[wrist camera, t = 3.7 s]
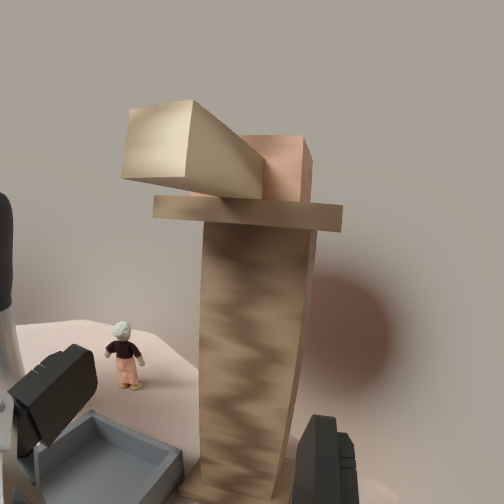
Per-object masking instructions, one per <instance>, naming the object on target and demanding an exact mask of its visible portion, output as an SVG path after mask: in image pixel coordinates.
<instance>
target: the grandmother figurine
mask: <svg viewBox="0 0 504 504" xmlns="http://www.w3.org/2000/svg"><path fill="white" fill-rule="evenodd" d="M130 327H131V326H130V324H129V323H128V322H125V321H121V322H119V323H117V324H116V325H115V327H114V329H113V332H112V334H113V336H115V337H117V339H118V340H120V341H113V342H111V343H110V344H109V345H108V346H107V347H106V353H105V357H106V358H109V357H110V354H111V353H116V352H117V355H116V364H117V372H118V377H119V381H120V383H119V387H120V388H127V387H128V385H129V384H131V386H130V389H131V390H138V389H139V388H141V387H142V386H143V385H142V383H141V382H140V381H138V377H137V371H136V365H135V360H134V357H133V354H134V356H135V357H136V358H137V360H138V362H139V365H140V366H144V364H145V362H144V361H143V358H142V356H141V353H140V351H139V350H138V349H137V347H136V346H135V345H134V344H133V343H131V342H129V341H127V340H129V338H130V333H131V328H130Z"/></svg>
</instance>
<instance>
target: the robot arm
mask: <svg viewBox="0 0 504 504" xmlns="http://www.w3.org/2000/svg"><path fill="white" fill-rule="evenodd" d="M12 248H13V215H12V208H11V204H10V202H9V200H8V198H7V197H6V196H5V195H4V194H2V193H0V504H46V502H45V499H44V497H43V495H42V492H41V487H40V477H39V464H38V449H37V446H36V444H37V443H38V442H40V443H41V444H43V445H44V446H46V447H47V448H49V447H50V446H51V444H52V443H53V442H54V441H55V440H56V438H57V437H58V436H59V435H60V434H61V432H62V431H63V430H64V429H65V428H66V427H67V425H68V424H69V423H70V422H71V421H72V419H73V418H74V417H75V416H76V415H77V414H78V412H79V411H80V410H81V409H82V408H83V407H84V405H85V404H86V403H87V402H88V401H89V400H90V398H91V397H92V396H93V395H94V393H95V391H96V389H97V384H98V381H97V375H96V369H95V362H94V356H93V353H92V352H91V351H90V350H87V349H85V348H83V347H81V346H79V345H77V344H72V345H71V346H69V347H68V348H67V349H66V350H65V351H64V352H62V351H59V352H57V353H54V354H52V355H49V356H48V357H47V358H45V359H44V360H43V361H42V362H41V363H40V365H39V364H38V365H37V366H36V367H35V368H34V369H33V371H32V370H31V371H30V372H29V373H28V374H27V375H26V374H25V370H24V366H23V362H22V358H21V353H20V349H19V344H18V338H17V333H16V327H15V322H14V315H13V308H12V299H11V289H12V280H13V268H12ZM292 504H359V494H358V482H357V471H356V461H355V452H354V444H353V443H352V441H351V439H350V438H349V436H348V434H347V433H340V432H337V427H336V418H335V417H330V416H322V415H315V414H314V415H312V417H311V419H310V421H309V423H308V425H307V427H306V429H305V431H304V433H303V435H302V437H301V439H300V442H299V445H298V449H297V454H296V466H295V478H294V490H293V500H292Z"/></svg>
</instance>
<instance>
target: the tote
mask: <svg viewBox="0 0 504 504" xmlns="http://www.w3.org/2000/svg"><path fill="white" fill-rule="evenodd" d="M37 449H38V464H39V477H40V487H41V492H42V495H43V497H44V499H45V502H46V504H163V503H164V502H165V501H166V499H167V498H168V497H169V495H170V494H171V493H172V491H173V490H174V489H175V487H176V486H177V485H178V483H179V482H180V480H181V479H182V478H183V476H184V466H183V456H182V450H181V449H178V448H175V447H172V446H170V445H167V444H165V443H162V442H159V441H157V440H154V439H152V438H150V437H147V436H145V435H142V434H140V433H138V432H136V431H133V430H131V429H129V428H127V427H125V426H123V425H120V424H118V423H116V422H114V421H112V420H110V419H108V418H106V417H104V416H102V415H100V414H98V413H97V412H95V411H93V410H90V411H89V412H87V413H86V414H85V415H83V416H82V417H80V418H79V419H77V420H76V421H74V422H73V423H71V424H70V425H69V426H67V427H66V428H65V429H64V430H63V431H62V432H61V434H60V435H59V436H58V437H57V438H56V440H55V441H54V442H53V443H52V444H51V446H50V447H49V448H47V447H46V446H44V445H43V444H40V445H39V446H37Z"/></svg>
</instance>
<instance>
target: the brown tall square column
mask: <svg viewBox="0 0 504 504" xmlns="http://www.w3.org/2000/svg"><path fill="white" fill-rule="evenodd" d="M342 212H343V206H342V205H332V204H321V203H309V202H295V201H281V200H265V199H248V198H227V197H200V196H154V205H153V218H165V219H181V220H197V221H204V230H203V247H202V267H201V293H200V294H201V295H200V325H199V326H200V327H199V426H200V459H199V460H198V462H197V463H196V464H195V466H194V467H193V469H192V470H191V472H190V473H189V475H188V476H187V477H186V479H185V480H184V482H183V483H182V484H181V486H180V487H179V495H180V496H183V497H186V498H188V499H191V500H194V501H197V502H200V503H203V504H288V503H289V499H290V495H291V492H292V488H293V484H294V478H295V466H296V460H294V459H287V458H284V457H285V453H286V448H287V443H288V438H289V433H290V428H291V423H292V417H293V411H294V406H295V401H296V395H297V388H298V383H299V377H300V371H301V363H302V358H303V351H304V344H305V336H306V330H307V322H308V314H309V306H310V298H311V290H312V281H313V271H314V262H315V251H316V240H317V230H320V231H331V232H341V225H342Z"/></svg>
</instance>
